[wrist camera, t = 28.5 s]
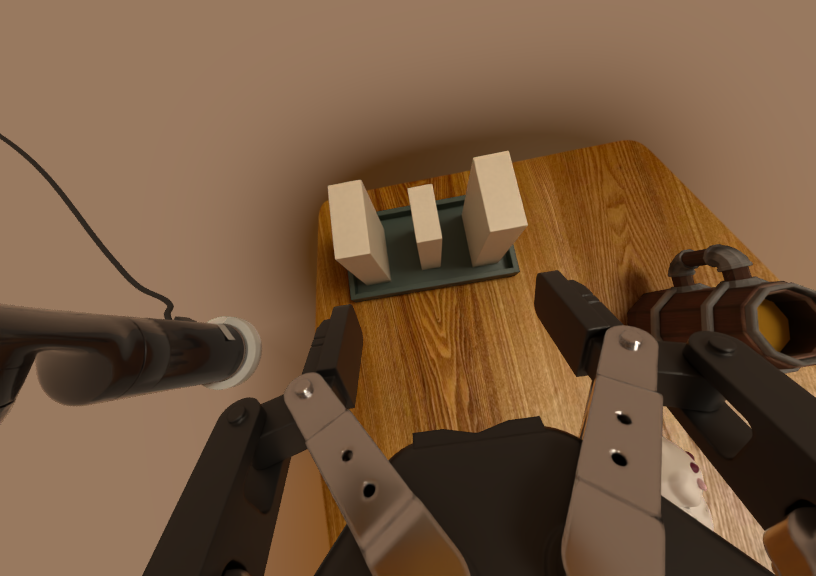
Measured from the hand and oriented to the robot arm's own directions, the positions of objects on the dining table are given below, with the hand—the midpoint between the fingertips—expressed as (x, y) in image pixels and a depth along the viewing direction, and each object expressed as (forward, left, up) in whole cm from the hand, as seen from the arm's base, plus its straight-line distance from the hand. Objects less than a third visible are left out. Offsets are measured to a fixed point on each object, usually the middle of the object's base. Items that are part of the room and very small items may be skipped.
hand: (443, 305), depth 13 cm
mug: (+30, +14, -33) cm, 46 cm away
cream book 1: (-14, +8, -32) cm, 36 cm away
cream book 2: (+1, +16, -32) cm, 36 cm away
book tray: (-6, +12, -33) cm, 35 cm away
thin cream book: (-6, +12, -32) cm, 35 cm away
